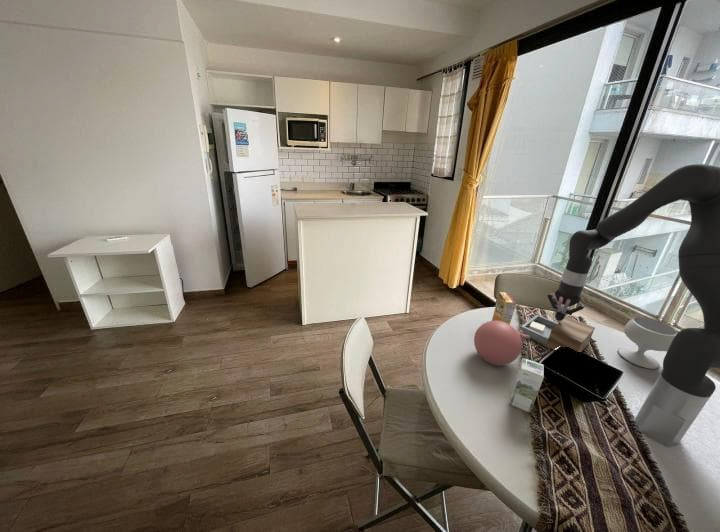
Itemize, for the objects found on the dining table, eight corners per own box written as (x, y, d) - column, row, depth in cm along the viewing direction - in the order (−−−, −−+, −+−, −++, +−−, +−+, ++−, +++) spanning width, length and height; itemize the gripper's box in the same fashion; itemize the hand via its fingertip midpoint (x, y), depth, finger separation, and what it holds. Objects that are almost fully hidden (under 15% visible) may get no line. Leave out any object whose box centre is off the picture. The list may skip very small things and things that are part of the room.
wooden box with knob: (574, 359, 108) (582, 342, 105) (545, 346, 115) (551, 329, 112) (588, 344, 118) (595, 327, 115) (560, 332, 125) (566, 316, 122)
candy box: (490, 322, 130) (498, 291, 124) (500, 322, 130) (508, 292, 124) (497, 333, 122) (506, 301, 116) (507, 334, 121) (517, 302, 116)
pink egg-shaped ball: (537, 373, 101) (550, 337, 95) (482, 375, 99) (492, 338, 93) (512, 345, 115) (522, 312, 109) (463, 346, 113) (471, 312, 107)
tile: (529, 325, 122) (528, 330, 123) (542, 330, 119) (541, 335, 120) (532, 321, 126) (530, 326, 127) (545, 325, 123) (543, 330, 124)
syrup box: (530, 400, 90) (544, 363, 84) (530, 414, 85) (544, 376, 79) (510, 392, 92) (522, 356, 87) (508, 405, 87) (521, 367, 82)
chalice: (671, 375, 103) (692, 341, 97) (624, 365, 106) (641, 331, 101) (649, 351, 115) (666, 319, 109) (607, 343, 119) (622, 312, 113)
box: (545, 345, 115) (548, 338, 114) (519, 333, 123) (521, 326, 121) (560, 332, 125) (562, 325, 124) (534, 320, 132) (537, 314, 131)
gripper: (550, 277, 113) (537, 315, 119) (590, 290, 103) (574, 331, 110) (557, 273, 117) (544, 310, 124) (596, 285, 108) (580, 324, 114)
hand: (558, 319), depth 117 cm, fingers closed
